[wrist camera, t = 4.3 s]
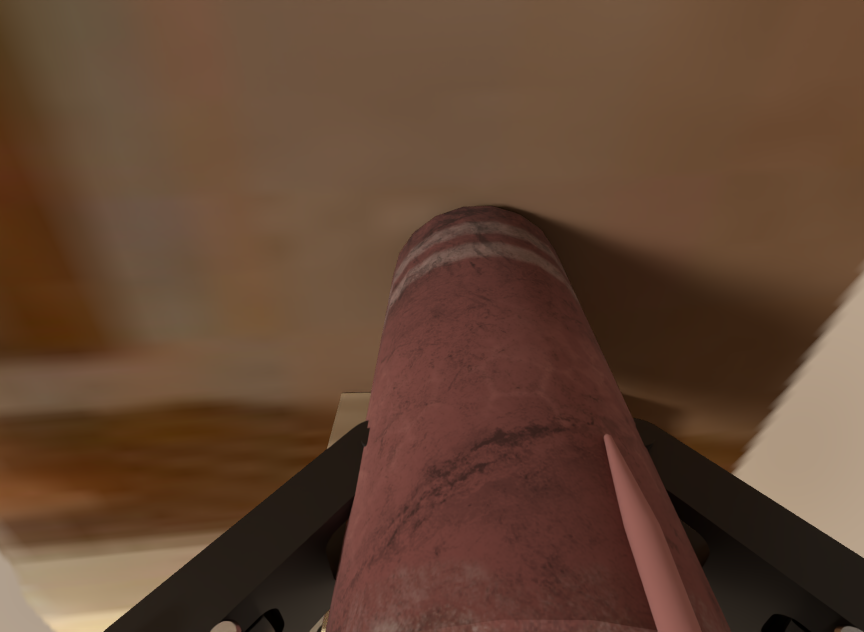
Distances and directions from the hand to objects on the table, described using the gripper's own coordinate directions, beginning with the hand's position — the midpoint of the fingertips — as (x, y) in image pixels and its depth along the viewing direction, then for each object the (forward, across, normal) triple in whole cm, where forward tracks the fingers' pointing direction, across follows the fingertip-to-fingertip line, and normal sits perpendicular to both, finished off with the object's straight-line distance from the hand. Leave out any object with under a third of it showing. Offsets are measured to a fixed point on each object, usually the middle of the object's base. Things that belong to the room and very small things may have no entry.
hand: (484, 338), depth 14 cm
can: (+4, 0, 0) cm, 4 cm away
